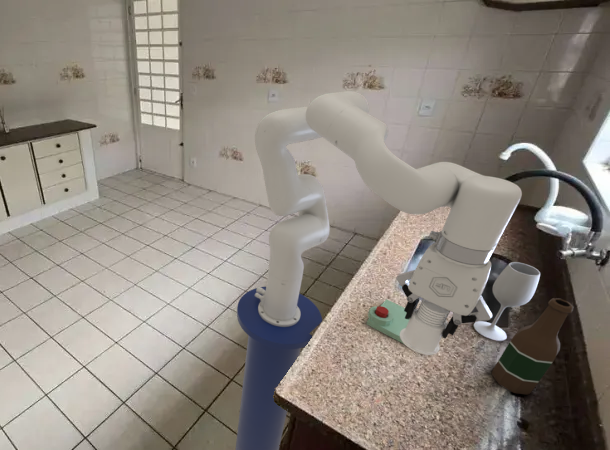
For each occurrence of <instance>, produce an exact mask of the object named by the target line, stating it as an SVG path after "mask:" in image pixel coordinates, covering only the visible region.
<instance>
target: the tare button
mask: <svg viewBox="0 0 610 450" xmlns="http://www.w3.org/2000/svg"><path fill="white" fill-rule="evenodd" d="M388 312H389V311H388V309H387V308H385V307H382V306H381V305H379V306H378V307H377V308H376V311H375V314H376V315H377V316H378V317H381V318H386V317H387V315H388Z"/></svg>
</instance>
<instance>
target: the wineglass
mask: <svg viewBox="0 0 610 450" xmlns="http://www.w3.org/2000/svg"><path fill="white" fill-rule="evenodd" d="M540 277H541V272H540V271H539V269H537V268H536V267H534V266H532V265H530V264H527V263H523V262H519V261H512V262H510V263H508V264H507V265H506V266H505V267H504V269H503V270H502V271H501V272H500V274H498V276H497V277H496V279H495V280H494V282H493V285H492V294H493V296H494V298H495V299H496V301H497V302H498V303H499V304H500V308H499V310H498V312H497V314H496V315H495V317H494V319H493V320H492V322H487V321H475V322H473V328H474V330H475V331H476V332H477V333H478V334H480V335H481V336H482V337H484V338H487V339H488V340H491V341H495V342H503V341H506V340H507V338H508V335H507V333H506V332H505V330H504V329H502V328H501V327H499V326H498V325H496V324H497V323H498V321H499V319H500V317H501V315H502V314H503V312H504V310H505V309H506V308H510V307H511V308H513V307H520V306H524V305H526V304H527V303H529V302H530V301H531V299H532V298H533V296H534V295H535V293H536V290H537V288H538V286H539V285H538V284H539V281H540Z"/></svg>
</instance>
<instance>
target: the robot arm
mask: <svg viewBox="0 0 610 450" xmlns="http://www.w3.org/2000/svg"><path fill="white" fill-rule="evenodd" d="M388 135H389V126H388V125H387V124H386V123H385V122H384V121H383V120H380V119H379V118H377V117H375V116H373V115H372V114H370V104H369V101H368V99H367V98H366V97H365V96H364V95H363V94H362V93H360V92H359V91H354V90H344V91H336V92H329V93H323V94H321V95H319V96H316V97H315V98H313V100H312V101H311V102H310V103H309V105H306V106H298V107H289V108H283V109H278V110H275V111H272V112H270V113H268V114H266V115H264V116H263V118H262V119H260V121H259V122H258V124H257V126H256V129H255V133H254V145H255V150H256V152H257V155H258V158H259V161H260V165H261V168H262V174H263V180H264V186H265V191H266V195H267V202H268V206H269V208H270V211H271V212H272V213H273V214H274V215H275V216H278V217H284V216H285V217H286V216H290V215H293V214H296V213H298V215H296V216H294V217H291V218H287V219H285V220H282V221H280V222H278V223H277V224H275V225H274V226H273V227H272V228H271V230H270V231H269V234H268V243H269V260H268V261H269V262H268V271H267V278H266V286H265V287H266V291H265V290H264V289H263V288H261V287H262V286H257V287H256V288H257V289H256V292H258V293H256V294H255V297H257V298H259V299H260V300H261V302H260V303H259V306H258V312H259V315H260V316H261V318H262V319H263V320H265V321H266V322H268V323H270V324H272V325H275V326H279V327H289V326H292V325H295V324H296V323H297V322H298V321H299V319H300V315H301V313H300V309H299V308H298V306H297V302H298V297H299V293H300V291H301V286H302V281H303V277H304V269H305V265H304V261H303V258H302V255H303V253H304V252H307V251H308V250H310V249H312V248H314V247H318V246H319V245H321V244H323V243H325V242H326V241H327V239H328V238H329V236H330V231H331V230H330V229H331V226H330V218H329V211H328V204H327V199H326V198H327V197H326V192H325V188H324V186H323V184H322V183H321V181H320V180H319V179H318V178H317V177H316V176H315V175H312V174H308V173H303V174H299V173H298V170H297V163H296V160H295V157H294V155H293V154H292V153H291V151H290V150H289V149H288V148H287V146H289V145H292V144H298V143H299V144H300V143H303V142H308V141H313V140H318V139H320V138H323V139H325V141H327V142H328V143H330V144H331V145H333V146H334V147H336V149H338V150H339V151H342V153H344V154H345V155H347V156H348V157H349V158H351V159H352V160H353V161H354V164H355V167H356V170H357V173H358V175H360V178H361V180H362V181H363V183H364V184H365V185H366V186H367V188H368V189H369V190H371V191H372V192H373V193H374V194H375V195H376V196H378V197H379V198H380V199H382V200H383V201H385V202H386V203H387V204H389V205H390V206H392V207H393V208H395V209H397V210H398V211H400V212H402V213H405V214H409V215H414V216H415V215H416V216H417V215H425V214H428V213H430V212H433V211H435V210H437V209H439V208H445V207H446V208H447V207H449V208H450V210H449V212H448V215H447V217H446V220H445V222H444V224H443V227H442V229H441V230H440V231H436V230H435V231H434V230H431V231H430V233H429V234H428V238H429V239H432V240H433V241H434V243H432V244H431V245H429V246H428V247H427V249H425V251H424V254H423V255H422V256H421V257H420V260H419V261H418V263H417V265H416V267H415V269H413V270H409V271H406V272H402V273H399V274H398V275H397V276H396V278H395V279H396V281H397V282H398V284H399V285H400V287H401V291H402V292H403V293H404V295H405V297H406V301H407V303H406V305H405V307H404V308H405V309H404V311H405V312H407V314H406V316H405V319H410V317H411V315H412V313H413V311H414V310H415V309H416V308H418V305H419V302H420V298H421V299H425V300H427V301H429V302H432V303H434V304H436V305H438V306H440V307H443V308H445V309H447V310H449V311H450V312H452V316H451V317H450V320H449V321H448V322H447V323H448V324H447V326H446V328H445V330H444V332H443V334H442V339H444V340H447V337H448V336H449V335H450V336H454V335H455V333H456V332H457V329H458V328H459V326H461V325H463V324H470V323H475V322H477V321H484V322H487V321H490V320H491V319H492V318H493V313H492V311H491V310H490V308H489V306H488V305H487V303H486V301H485V299H484V298H483V296H482V294H483V293H484V290H485V288H486V286H487V282H488V280H489V277H490V273H491V269H492V262H491V260H490V258H491V257H492V255H493V253H494V251H495V249H496V247H497V245H498V243H499V241H500V240H501V237H502V235H503V233H504V232H505V229H506V228H507V226H508V224H509V222H510V220H511V218H512V216H513V214H514V213H515V211H516V210H517V207H518V205H519V203H520V201H521V200H522V195H523V192H522V188H521V187H520V186H519V185H518V184H516V183H514V182H512V181H510V180H507V179H504V178H501V177H495V176H489V175H484V174H481V173H479V172H476V171H473V170H471V169H469V168H467V167H465V166H463V165H460V164H457V163H455V162H451V161H439V162H434V163H432V164H428V165H424V166H422V167H418V168H415V167H413V166H411V165H410V164H409V163H407V162H406V161H404V160H403V159H401V158H399V157H398V156H397V155H395V154H394V153H393V152H392V151H391V150H390V149H389V148H388V146H387V145H386V140H387V138H388ZM260 294H262V295H263V296H262V295H260ZM474 309H476V310H477V311H476V312H475V311H474Z"/></svg>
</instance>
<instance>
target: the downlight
mask: <svg viewBox="0 0 610 450" xmlns="http://www.w3.org/2000/svg"><path fill="white" fill-rule="evenodd" d="M421 299H422V300H421V302H420V304H419V307H416V309H415V310H414V311H413V313H412V315H411V317H410V320H409V322H408V324H407V327H406V328H404V329H402V330H401V332H400V338H401V340H402V342H403V343H404V344H403V343H402V344H403V345H404V346H406V347H407V348H408V349H410V350H412V351H414V352H415V353H418V354H420V355H424V356H434V355H437V354H438V353H439V352H440V350H441V346H440V341H441V340H442V339H443V337H442V334H443V332H444V330H445V328H446V326H447V324H448V323H449V322H448V321H447V318H448V317H449V315H450V312H451V311H449V310H447V309H445V308H443V307H440V306H438V305H436V304H434V303H432V302H429V301H427V300H425V299H423V298H421Z"/></svg>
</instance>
